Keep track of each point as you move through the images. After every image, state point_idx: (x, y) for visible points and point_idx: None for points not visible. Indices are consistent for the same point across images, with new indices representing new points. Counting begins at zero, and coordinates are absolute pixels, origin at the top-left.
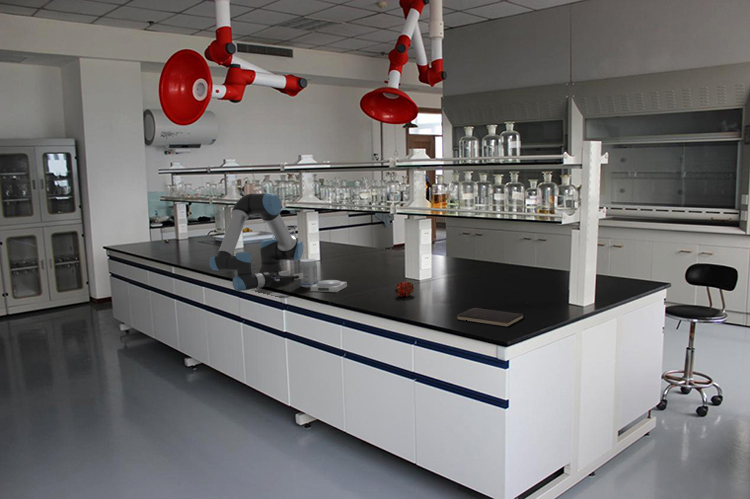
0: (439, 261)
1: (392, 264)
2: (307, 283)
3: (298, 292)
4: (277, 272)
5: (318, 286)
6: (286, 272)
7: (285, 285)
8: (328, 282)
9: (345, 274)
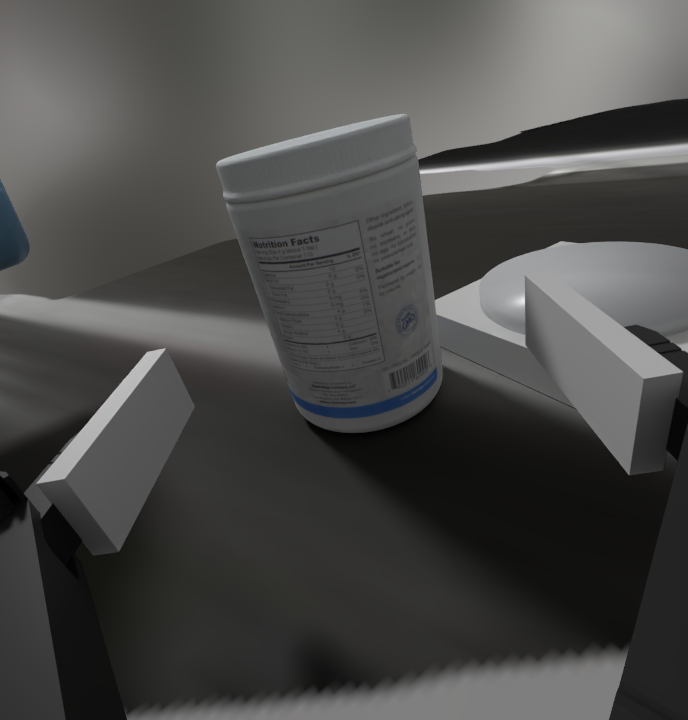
0: None
1: None
2: (423, 378)
3: None
4: (25, 506)
5: (686, 345)
6: (157, 393)
7: (140, 520)
8: (595, 278)
9: None
